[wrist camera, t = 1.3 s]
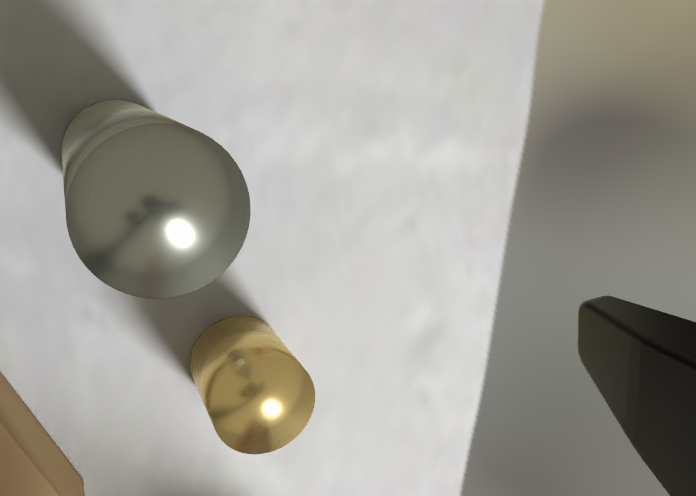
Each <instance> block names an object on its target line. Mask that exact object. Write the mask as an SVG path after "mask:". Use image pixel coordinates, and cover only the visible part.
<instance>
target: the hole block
mask: <svg viewBox="0 0 696 496" xmlns="http://www.w3.org/2000/svg"><path fill="white" fill-rule="evenodd" d="M0 496H84V483H83V479H82V477H81V476H80V475H79V473H78V472H77V471H76V469H75V468H74V467H73V466H72V464H71V463H70V462H69V460H68V459H67V458H66V456H65V455H64V454H63V453H62V451H61V450H60V449H59V447H58V446H57V445H56V443H55V442H54V441H53V440H52V438H51V437H50V436H49V434H48V433H47V432H46V430H45V429H44V428H43V426H42V425H41V424H40V423H39V421H38V420H37V419H36V417H35V416H34V415H33V413H32V412H31V411H30V410H29V408H28V407H27V406H26V404H25V403H24V402H23V400H22V399H21V398H20V397H19V395H18V394H17V393H16V391H15V390H14V389H13V387H12V386H11V385H10V383H9V382H8V381H7V380H6V378H5V377H4V376H3V374H2V373H1V372H0Z"/></svg>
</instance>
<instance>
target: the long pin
mask: <svg viewBox="0 0 696 496" xmlns="http://www.w3.org/2000/svg"><path fill="white" fill-rule="evenodd" d="M61 152H62V166H63V180H64V194H65V207H66V221H67V228H68V232H69V236H70V239H71V242H72V244H73V247H74V249H75V251H76V252H77V254H78V256H79V258H80V259H81V260H82V262H83V263H84V264H85V266H86V267H87V268H88V269H89V270H90V271H91V272H92V273H93V274H94V275H95V276H96V277H97V278H99V279H100V280H101V281H103V282H104V283H105V284H107V285H109V286H111V287H112V288H114V289H116V290H119V291H121V292H123V293H126V294H129V295H133V296H136V297H143V298H153V299H162V298H172V297H177V296H182V295H185V294H188V293H191V292H194V291H196V290H198V289H200V288H202V287H204V286H206V285H207V284H209V283H210V282H212V281H213V280H215V279H216V278H217V277H218V276H220V275H221V274H222V273H223V272H224V271H225V270H226V269H227V268H228V267H229V266H230V264H231V263H232V262H233V260H234V259H235V258H236V256H237V255H238V253H239V251H240V249H241V247H242V245H243V243H244V240H245V238H246V235H247V231H248V227H249V221H250V199H249V192H248V188H247V185H246V182H245V179H244V177H243V174H242V172H241V170H240V169H239V167H238V165H237V164H236V162H235V161H234V159H233V158H232V157H231V156H230V154H229V153H228V152H227V151H226V150H225V149H224V148H223V147H222V146H221V145H219V144H218V143H217V142H215V141H214V140H213V139H211V138H210V137H208V136H206V135H205V134H203V133H201V132H199V131H197V130H194V129H192V128H190V127H188V126H185V125H183V124H181V123H179V122H177V121H174V120H172V119H170V118H168V117H165V116H163V115H161V114H159V113H157V112H154V111H152V110H150V109H148V108H146V107H143V106H141V105H139V104H136V103H133V102H129V101H124V100H107V101H102V102H98V103H96V104H93V105H91V106H89V107H87V108H85V109H84V110H83V111H81V112H80V113H79V114H78V115H77V116H76V117H75V118H74V119H73V120H72V121H71V123H70V124H69V126H68V128H67V130H66V132H65V134H64V137H63V142H62V151H61Z"/></svg>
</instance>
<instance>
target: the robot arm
mask: <svg viewBox="0 0 696 496" xmlns="http://www.w3.org/2000/svg"><path fill="white" fill-rule="evenodd" d="M578 353H579V356H580V359H581V361H582V364H583V365H584V367H585V369H586V370H587V372H588V374H589V375H590V377H591V379H592V380H593V382H594V384H595V385H596V387H597V388H598V390H599V392H600V393H601V395H602V397H603V398H604V400H605V402H606V403H607V405H608V407H609V408H610V410H611V411H612V413H613V415H614V416H615V418H616V420H617V421H618V423H619V425H620V426H621V428H622V430H623V431H624V433H625V435H626V436H627V438H628V439H629V441H630V442H631V444H632V445H633V447H634V448H635V450H636V451H637V452H638V454H639V455H640V456H641V458H642V459H643V461H644V462H645V463H646V465H647V466H648V467H649V469H650V470H651V471H652V473H653V474H654V475H655V476H656V478H657V479H658V480H659V482H660V483H661V484H662V486H663V487H664V488H665V489H666V491H667V492H668V493H669V495H670V496H696V322H693V321H690V320H686V319H683V318H680V317H677V316H674V315H670V314H667V313H663V312H661V311H657V310H654V309H651V308H647V307H644V306H641V305H638V304H634V303H631V302H628V301H625V300H621V299H618V298H615V297H612V296H602V297H598V298H594V299H590V300H586V301H584V302H582V303H581V305H580V307H579V311H578Z"/></svg>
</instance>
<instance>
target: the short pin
mask: <svg viewBox="0 0 696 496" xmlns="http://www.w3.org/2000/svg"><path fill="white" fill-rule="evenodd" d="M190 369H191V374H192V377H193V380H194V382H195V385H196V387H197V389H198V391H199V394H200V396H201V398H202V401H203V403H204V405H205V407H206V410H207V412H208V414H209V416H210V419H211V421H212V423H213V426H214V428H215V430H216V432H217V434H218V436H219V437H220V439H221V440H222V441H223V442H224V443H225V444H226V445H228V446H229V447H230V448H232V449H234V450H236V451H239V452H242V453H247V454H262V453H267V452H271V451H274V450H277V449H279V448H281V447H283V446H284V445H286V444H288V443H289V442H291V441H292V440H293V439H294V438H295V437H296V436H298V435H299V433H300V432H301V431H302V430H303V429H304V427H305V426H306V424H307V423H308V421H309V419H310V417H311V414H312V412H313V408H314V403H315V390H314V385H313V382H312V380H311V377H310V376H309V374H308V373H307V371H306V370H305V369H304V368H303V366H302V365H301V364H300V363H299V362H298V360H297V359H296V358H295V357H294V356H293V354H292V353H291V352H290V351H289V349H288V348H287V347H286V346H285V345H284V343H283V342H282V341H281V340H280V339H279V337H278V336H277V335H276V334H275V332H274V331H273V330H272V329H271V328H270V327H269V326H268V325H267V324H266V323H264V322H263V321H261V320H259V319H256V318H253V317H248V316H235V317H230V318H226V319H223V320H221V321H219V322H217V323H215V324H214V325H212V326H211V327H209V328H208V329H207V330H206V331H205V332H204V333H203V334H202V335H201V336H200V338H199V339H198V341H197V342H196V344H195V346H194V349H193V351H192V355H191V361H190Z"/></svg>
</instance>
